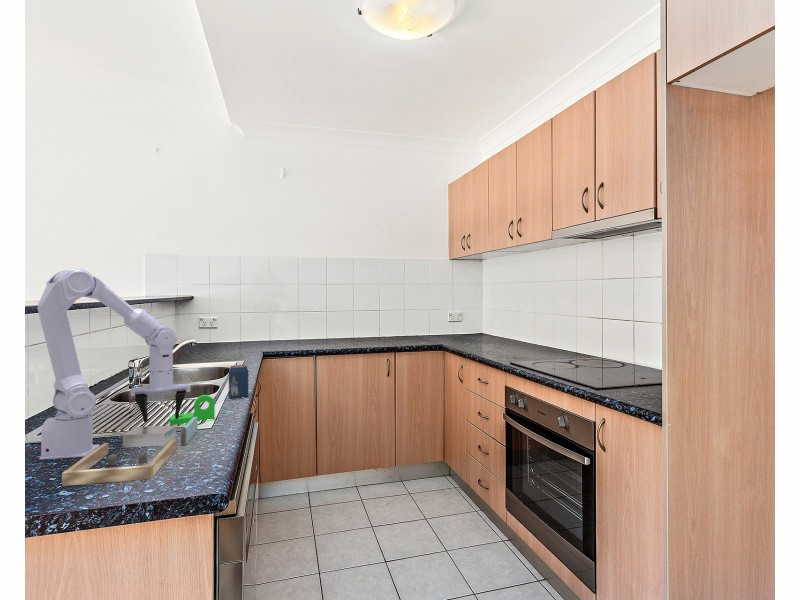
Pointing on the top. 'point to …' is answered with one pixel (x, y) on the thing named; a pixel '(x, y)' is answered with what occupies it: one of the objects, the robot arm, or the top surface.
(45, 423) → the robot arm
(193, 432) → the bar
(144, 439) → the block
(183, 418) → the mechanical part
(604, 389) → the top surface
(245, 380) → the dark blue carton
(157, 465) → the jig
